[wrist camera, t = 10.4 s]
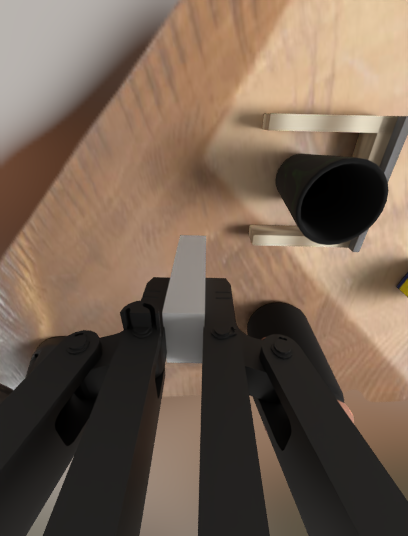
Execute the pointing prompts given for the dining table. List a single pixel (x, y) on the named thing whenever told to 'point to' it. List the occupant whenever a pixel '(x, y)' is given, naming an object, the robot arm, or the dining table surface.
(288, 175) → the cup
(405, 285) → the supplement box
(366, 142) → the bay
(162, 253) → the dining table surface
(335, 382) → the coffee jar
